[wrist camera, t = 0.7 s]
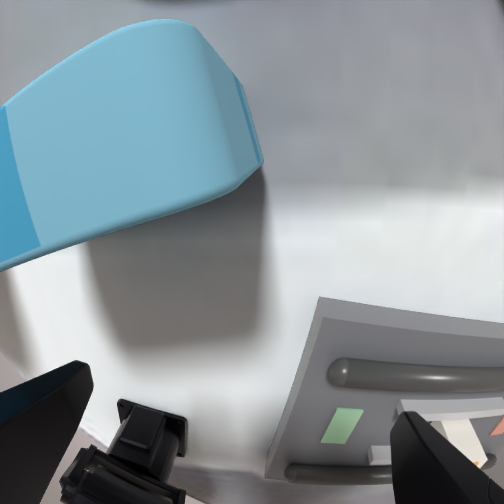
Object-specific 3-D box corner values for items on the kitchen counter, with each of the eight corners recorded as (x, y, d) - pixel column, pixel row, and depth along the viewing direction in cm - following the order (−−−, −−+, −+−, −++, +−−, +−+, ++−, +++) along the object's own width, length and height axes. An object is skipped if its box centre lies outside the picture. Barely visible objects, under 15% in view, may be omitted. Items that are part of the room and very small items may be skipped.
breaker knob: (441, 443, 20) (458, 491, 15) (414, 445, 20) (429, 497, 15) (465, 411, 19) (489, 461, 14) (438, 412, 19) (459, 467, 14)
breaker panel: (477, 453, 25) (487, 479, 21) (266, 457, 26) (262, 493, 22) (560, 329, 19) (583, 352, 15) (319, 296, 20) (326, 334, 16)
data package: (245, 87, 16) (175, -2, 5) (267, 162, 17) (232, 199, 6) (73, 154, 18) (-79, 187, 7) (91, 216, 20) (-48, 291, 8)
